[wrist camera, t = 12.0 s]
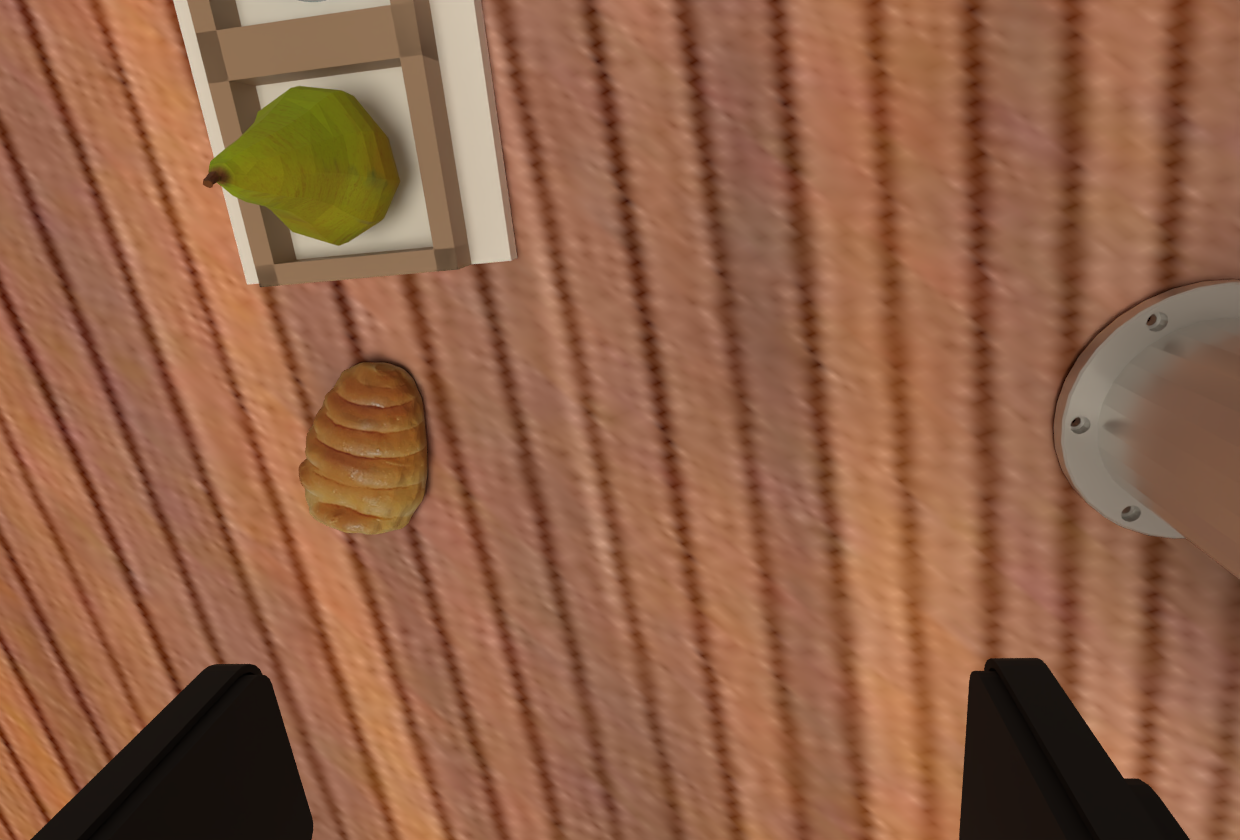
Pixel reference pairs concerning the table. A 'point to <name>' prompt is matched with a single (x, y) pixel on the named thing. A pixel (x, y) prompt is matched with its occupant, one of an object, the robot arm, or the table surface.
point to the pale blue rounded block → (312, 0)
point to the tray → (395, 99)
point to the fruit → (312, 165)
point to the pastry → (367, 452)
